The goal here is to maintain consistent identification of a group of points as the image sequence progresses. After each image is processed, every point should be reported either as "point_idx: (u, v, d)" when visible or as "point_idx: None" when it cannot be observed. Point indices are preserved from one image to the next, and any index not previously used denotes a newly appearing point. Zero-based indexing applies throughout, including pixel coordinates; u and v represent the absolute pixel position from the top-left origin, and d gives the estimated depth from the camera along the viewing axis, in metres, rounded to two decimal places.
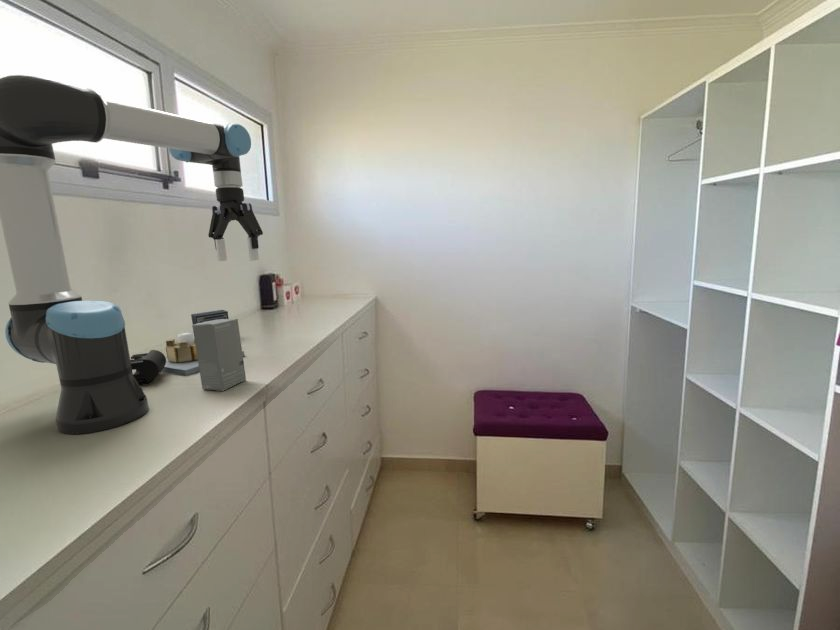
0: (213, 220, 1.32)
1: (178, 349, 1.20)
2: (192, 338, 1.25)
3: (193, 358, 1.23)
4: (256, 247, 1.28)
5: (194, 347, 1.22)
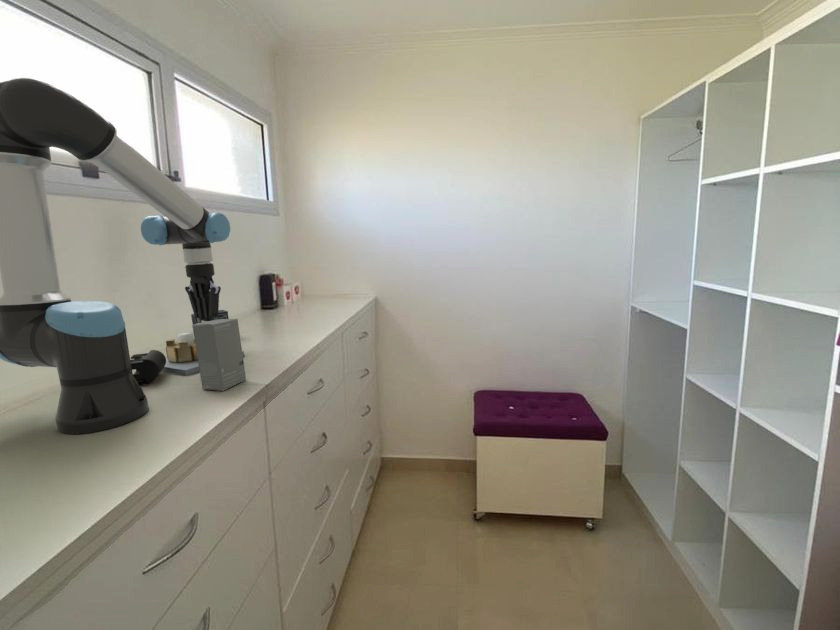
0: (191, 298, 1.32)
1: (178, 349, 1.20)
2: (192, 338, 1.25)
3: (193, 358, 1.23)
4: None
5: (194, 347, 1.22)
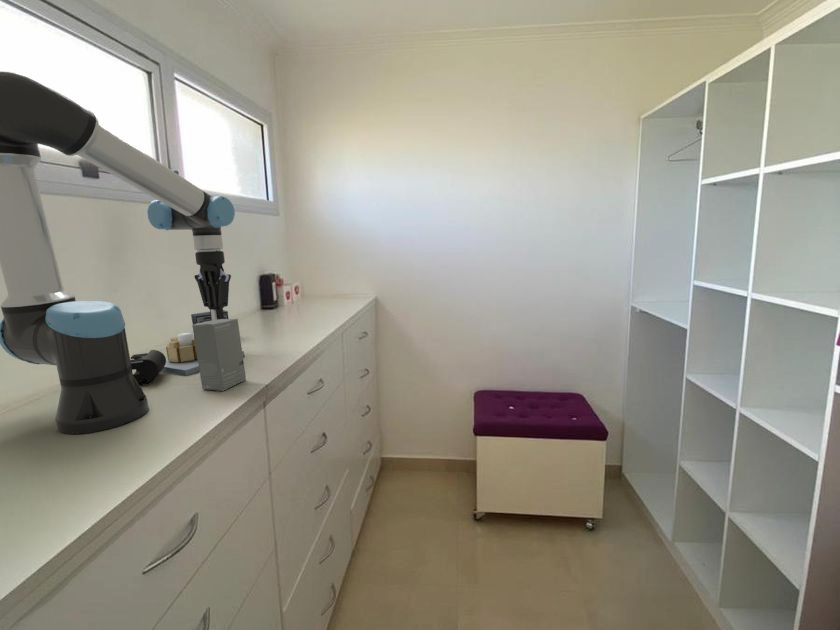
0: (201, 287, 1.29)
1: (168, 349, 1.21)
2: (192, 338, 1.25)
3: (180, 360, 1.21)
4: (221, 318, 1.30)
5: (180, 349, 1.20)
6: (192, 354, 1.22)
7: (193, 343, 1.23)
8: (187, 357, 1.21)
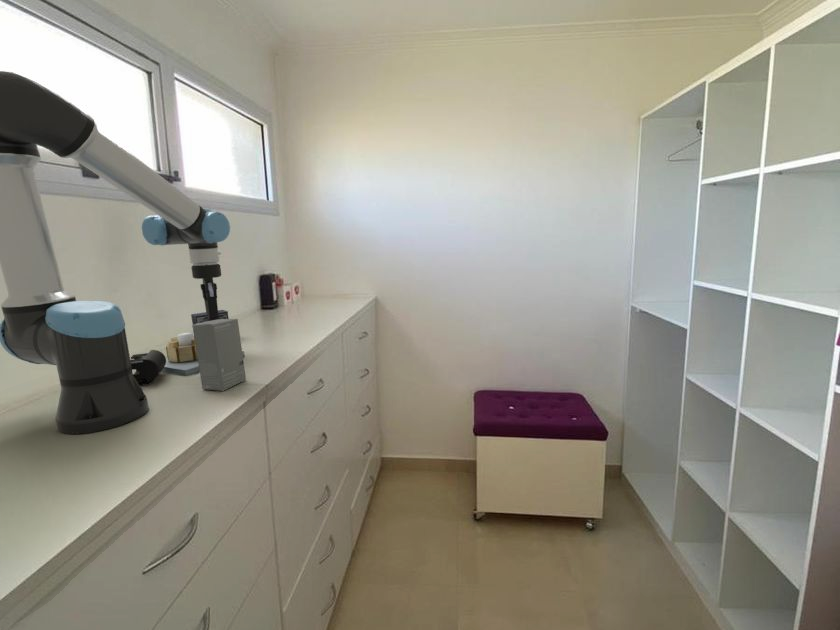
0: (204, 299, 1.30)
1: (168, 349, 1.21)
2: (192, 338, 1.25)
3: (180, 360, 1.21)
4: None
5: (179, 349, 1.20)
6: (191, 354, 1.22)
7: (192, 343, 1.23)
8: (186, 357, 1.21)
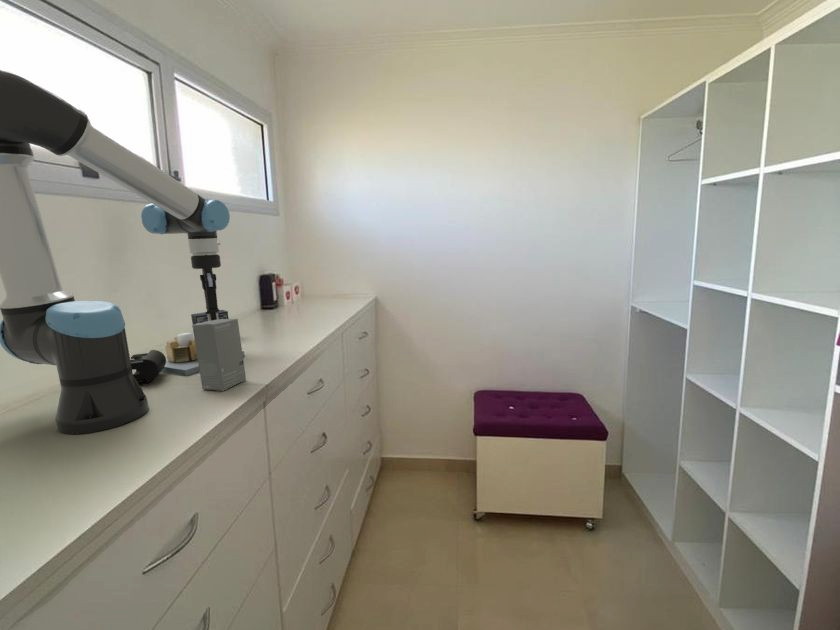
0: (204, 290, 1.30)
1: (166, 348, 1.22)
2: (192, 338, 1.25)
3: None
4: None
5: (175, 349, 1.20)
6: (187, 355, 1.21)
7: (189, 344, 1.22)
8: (181, 357, 1.21)
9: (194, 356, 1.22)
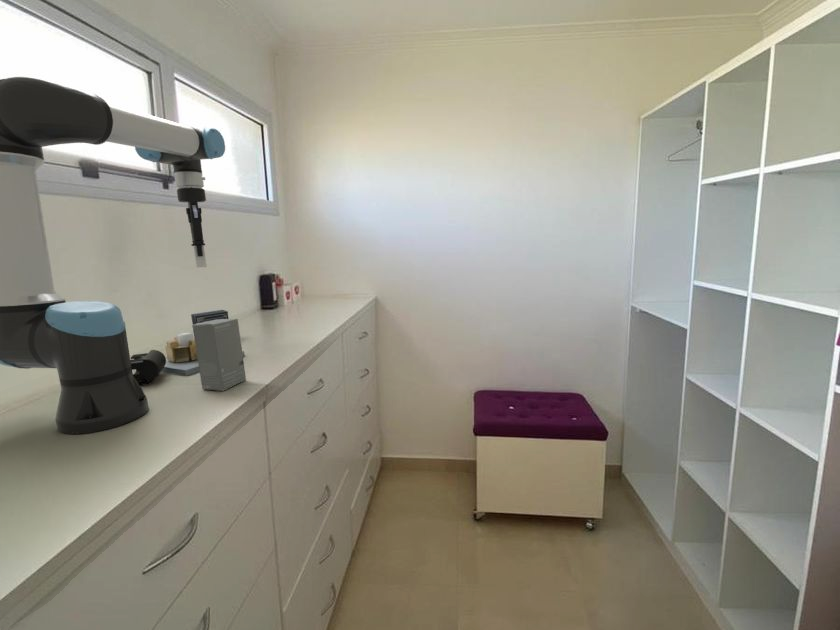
0: (190, 224, 1.36)
1: (166, 348, 1.22)
2: (192, 338, 1.25)
3: None
4: (200, 255, 1.33)
5: (175, 349, 1.20)
6: (187, 355, 1.21)
7: (189, 344, 1.22)
8: (181, 357, 1.21)
9: (194, 356, 1.22)
